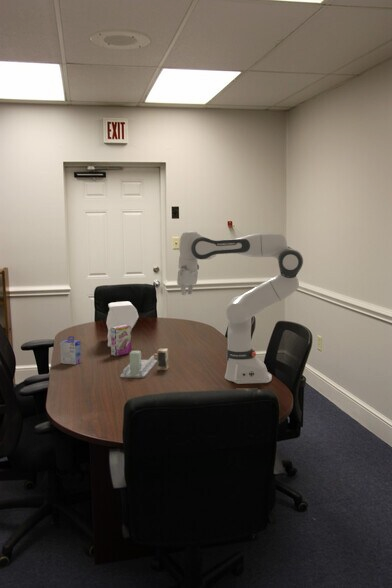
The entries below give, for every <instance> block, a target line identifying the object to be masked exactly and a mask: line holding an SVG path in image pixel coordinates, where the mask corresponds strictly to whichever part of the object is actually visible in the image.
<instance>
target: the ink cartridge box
mask: <svg viewBox="0 0 392 588" xmlns="http://www.w3.org/2000/svg"><path fill="white" fill-rule="evenodd" d="M59 343H60V344H59V345H60V347H59V348H60V364H64V365H79V364H81V363H82V351H81V348H82V347H81V340H75V336H71V335H69V336H68V338H67V339H65V340H62V341H60V342H59Z"/></svg>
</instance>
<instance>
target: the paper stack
mask: <svg viewBox="0 0 392 588" xmlns="http://www.w3.org/2000/svg"><path fill="white" fill-rule="evenodd" d="M107 305H108V308H109V310H108V313H107V317H106V327H107V340H108V341H107V347H108V348H111V327H116V326H121V325H129V326H131V331H132V329H133V328H134V327H135V325H136V323H137V321H138V319H139V313H138V310H137V308H136V307H135V306H134V305H133V304H132V302H130V301H127V300H126V301H116V302H110V303H108V304H107Z"/></svg>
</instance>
